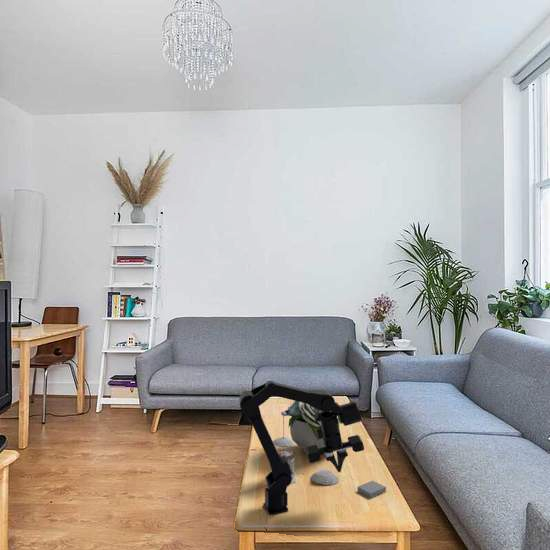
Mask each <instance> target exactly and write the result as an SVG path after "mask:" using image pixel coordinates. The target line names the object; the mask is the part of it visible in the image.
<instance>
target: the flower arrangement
mask: <svg viewBox="0 0 550 550" xmlns="http://www.w3.org/2000/svg"><path fill="white" fill-rule="evenodd" d="M317 411H319V412H323V411H321V410H318V409H316V408H314V407H312V406H311V405H309V404H306V403H303V402H299V401H293V402H292V404H291V405H290V406H289V407H288V408H287V409H285V410H284V412H286V415H285V416H284V417H287V416H289V417H290V418H289V420H288V429H289V431H290V432H289V433H290V436H291V439H292V440H293V441H294V444H296V445H297V446H298V447H300V448H302V449H303V451H304V453H306V454H307V452H306V448H307V447H309V446H313V445H317V447H318V448H323V447H326V446H325V445H324V441H323V439H318V436H317V431H316V429H320V428H321V429H322V427H321V422H320V421H318V422H316V421H315V419H314V417H313V416H314V415H315V414H316V412H317ZM337 419H338V417H337ZM338 424H339V425H340V422H339V419H338Z"/></svg>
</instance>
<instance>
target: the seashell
mask: <svg viewBox="0 0 550 550" xmlns="http://www.w3.org/2000/svg"><path fill="white" fill-rule="evenodd" d="M310 479H311V481H312V482H314V483H315V484H316V485H322V486H334V485H336V484H338V483H339V481H340V480H339V479H340V478H339V477H338V476H337V475H336V474H335V473H334V472H333V471H331V470H330V469H327V468H319V469H318V470H316V471H314V473H312V475H311V476H310Z"/></svg>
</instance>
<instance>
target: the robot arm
mask: <svg viewBox="0 0 550 550" xmlns="http://www.w3.org/2000/svg"><path fill="white" fill-rule="evenodd" d="M273 396H274V397H279V398H283V399H287V400H291V401H293V402H295V401H299V402H303V403H306V404H309V405H311V406H312V407H314V408H316V409H318V410H321V411H323V412H319V411H317V412H316V414H315V415H314V416H313V417H314V419H315V421H316V422H318V421H320V422H321V427H322V429H321V428H320V429H316V431H317V436H318V439H323V441H324V445H325V446H326V447H323V448H318V447H317V445H313V446H309V447H307V448H306V452H307V453H306V452H305V453H306V456H307V459H308V463H310V464H313V463H317V462H319V461H320V460H321V459H322V458H321V456H322V455H324V457H325V460H326V461H327V462H330V463H331V464H332V465H333V467H335V470H336V471H337V472H338V473H342V467H343V465H344V461H345V459H346V458H347V457H348V456H349V454H348V452H347V450H348V449H350V448H351V450H352V451H353V452H355V453H359V452H363V451H364V450H365V444H364V442H363V440H362V439H361V436H359V434H354V435H352V436H348V437H347V441H345V442H344V441H343V440H342V435H341V430H340V424H343V426H344V427H346V426H350V425H354V424H357V423H361V422H362V414H361V412H360V411H359V408H358V406H357V403H356V402H355V401H353V400H352V401H350V402H348V403H344V404H341V405H340V404H339V403H338V402H337V401H335V397H333V396H332V394H331V393H330V392H329V391H327V390H323V389H303V388H300V387H294V386H291V385H287V384H284V383H280V382H275V381H274V380H267V381H266V382H264V383H263V384H260V385H259V386H256V387H254V388H252V389H251V390H245V391H243V392H241V394H240V395H239V399H238V400H239V407H240V410H241V411H242V413H243V414H244V416H245V417H246V418H247V420H248V421H249V422H250V423H251V425H252V427H253V428H254V429H253V430H254V431H255V434H256V436H257V438H258V440H259V442H260V444H261V446H262V449H263V451H264V453H265V455H266V456H265V457H266V458H267V460H268V462H269V463H268V464H269V466H270V472H269V473H268V474H267V475H266V476H265V481H266V486H267V487H265V488H264V503H263V504H262V505H263V507H264V508H265V510H266V512H267V513H268V515H275V514H279V513H280V514H281V513H285V512H288V511H289V508H288V504H289V503H288V499H289V498H288V496H289V495H288V492H287V489H288V487H289V486H290V484H291V481H292V476H291V474H293V473H294V472H293V473H292V470H291V469H292V468H290V465H289V464H288V462H287V459H286V457H285V455H284V456H282V457H281V456H280V455H279V454H278V452H277V450H278V449H277V448H276V446H275V445H274V443H273V441H274V440H273V438H272V436H271V435H270V433H269V430H268V429H267V428H268V427H267V426H266V423H265V421H264V419H263V417H262V413H261V409H260V406H262V405H263V404H264V403H266V402H267V401H268V399H270V398H271V397H273ZM337 418H338V419H339V424H338V419H337ZM334 453H336V456H335V454H334ZM291 485H292V484H291Z"/></svg>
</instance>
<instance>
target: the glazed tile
mask: <svg viewBox="0 0 550 550" xmlns="http://www.w3.org/2000/svg"><path fill="white" fill-rule="evenodd" d="M385 491H386V492H387V486H385V485H382V484H381V483H379V482H377V481H375V480H371V481H369V482H366V483H364V484H361V485H358V486H357V492H358V493H360V494H362V495H364V496H365V495H366V496H365V497H367V496H368V497H367V498H369V497H370V498H369V499H372V498H374V496H375V497H376V495H377V496H379V495H381V494H380V493H382V494H384V493H386V492H385ZM383 492H384V493H383ZM378 494H379V495H378Z"/></svg>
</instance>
